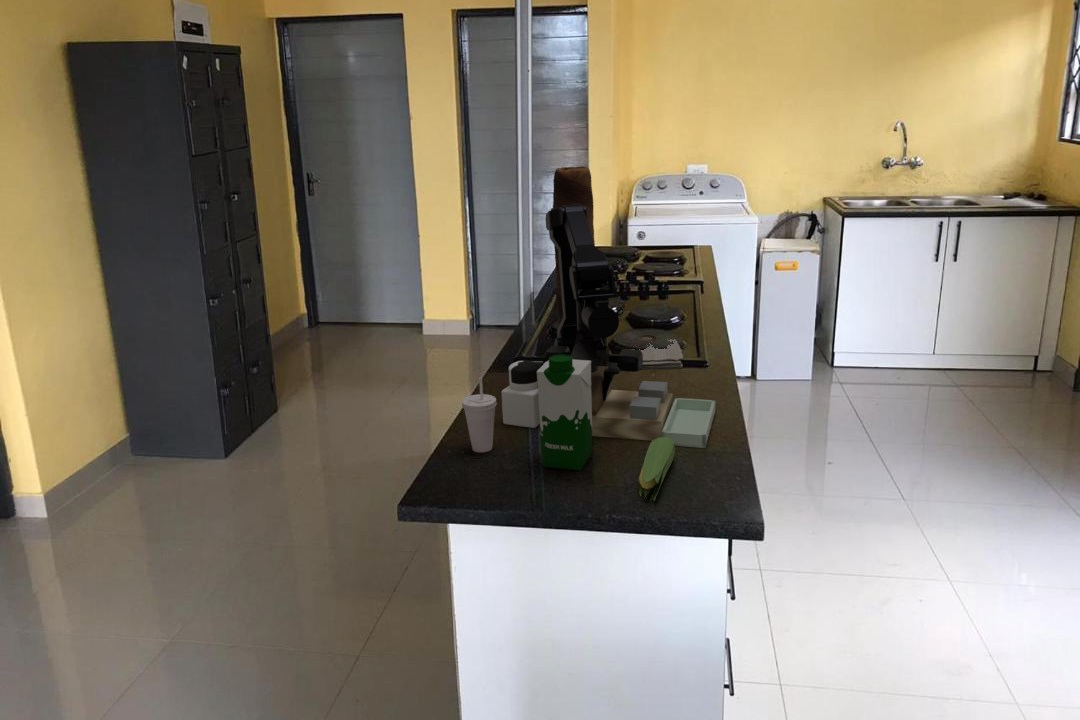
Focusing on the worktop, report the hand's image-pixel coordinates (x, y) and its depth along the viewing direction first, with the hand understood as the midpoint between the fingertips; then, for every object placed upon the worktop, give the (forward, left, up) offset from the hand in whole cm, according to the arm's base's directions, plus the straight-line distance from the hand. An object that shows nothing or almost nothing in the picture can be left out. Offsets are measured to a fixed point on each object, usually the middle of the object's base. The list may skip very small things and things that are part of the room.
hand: (593, 399), depth 171 cm
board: (+6, 0, -4) cm, 8 cm away
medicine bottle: (-13, -2, -5) cm, 14 cm away
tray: (+19, 0, -4) cm, 19 cm away
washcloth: (+6, +42, -5) cm, 43 cm away
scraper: (0, 0, 0) cm, 0 cm away
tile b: (+11, -5, 0) cm, 12 cm away
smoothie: (-17, -17, -5) cm, 25 cm away
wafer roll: (-14, +45, -5) cm, 47 cm away
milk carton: (0, -19, -5) cm, 20 cm away
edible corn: (+16, -23, -5) cm, 29 cm away
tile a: (+11, +4, 0) cm, 12 cm away
